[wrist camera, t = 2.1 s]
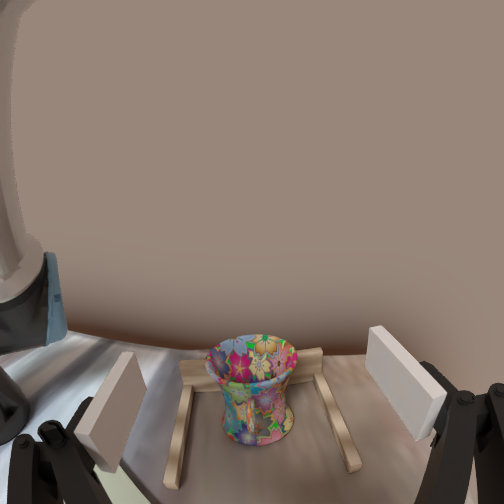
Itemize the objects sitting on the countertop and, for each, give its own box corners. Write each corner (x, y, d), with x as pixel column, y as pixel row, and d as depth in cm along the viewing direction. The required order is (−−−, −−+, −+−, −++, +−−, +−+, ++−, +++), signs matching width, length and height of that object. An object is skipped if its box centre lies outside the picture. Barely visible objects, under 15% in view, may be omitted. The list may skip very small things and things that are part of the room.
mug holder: (359, 470, 20) (369, 444, 19) (167, 489, 19) (152, 464, 18) (319, 374, 38) (320, 347, 37) (187, 387, 37) (180, 360, 36)
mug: (223, 401, 34) (211, 335, 32) (293, 397, 34) (292, 331, 31) (213, 470, 22) (191, 405, 20) (302, 467, 22) (307, 401, 20)
